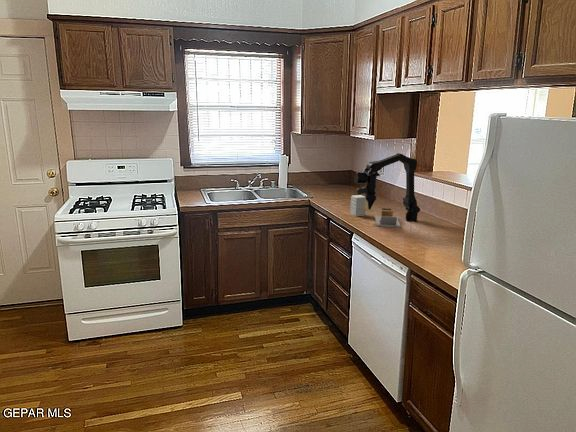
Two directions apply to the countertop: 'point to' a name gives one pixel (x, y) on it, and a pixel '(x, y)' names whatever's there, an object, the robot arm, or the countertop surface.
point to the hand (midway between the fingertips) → (369, 208)
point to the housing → (368, 208)
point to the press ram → (386, 212)
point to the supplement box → (357, 205)
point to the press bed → (387, 221)
